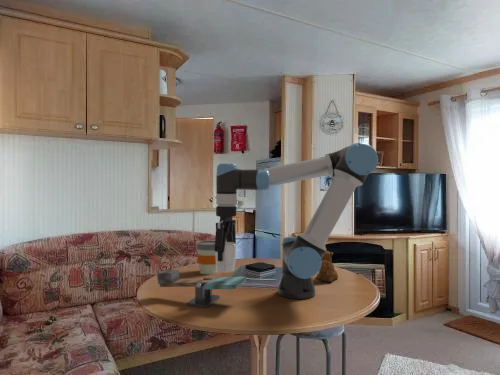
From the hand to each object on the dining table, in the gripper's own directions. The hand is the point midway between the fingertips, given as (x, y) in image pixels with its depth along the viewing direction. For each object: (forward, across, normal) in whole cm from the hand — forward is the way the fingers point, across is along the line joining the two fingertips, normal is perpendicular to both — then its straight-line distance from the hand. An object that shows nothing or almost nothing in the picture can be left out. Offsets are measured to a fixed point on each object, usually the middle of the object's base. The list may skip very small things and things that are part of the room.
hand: (225, 267), depth 132 cm
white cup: (+1, 0, 0) cm, 1 cm away
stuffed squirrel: (+14, -49, +32) cm, 60 cm away
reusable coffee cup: (+14, -43, -27) cm, 53 cm away
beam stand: (+14, 0, -9) cm, 16 cm away
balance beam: (+8, 0, -10) cm, 13 cm away
